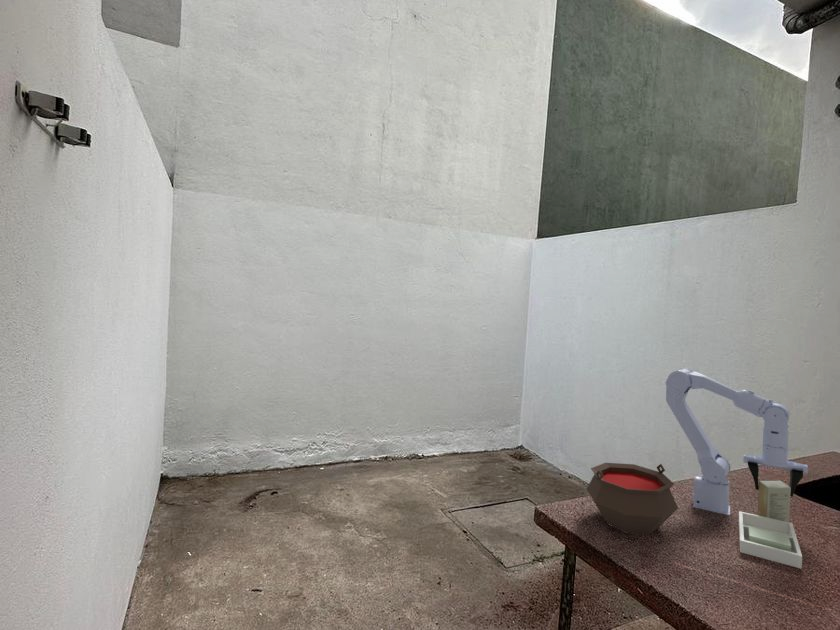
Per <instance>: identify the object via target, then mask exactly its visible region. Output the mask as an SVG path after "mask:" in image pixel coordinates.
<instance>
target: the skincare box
mask: <svg viewBox="0 0 840 630" xmlns="http://www.w3.org/2000/svg"><path fill="white" fill-rule="evenodd" d="M758 485H759V490H758V494H757V495H758V496H757V510H756V511H757V512H756V513H757V514H756V515H758V516H763V517H767V518H771V519H776V520H780V521H784V522H789V523H790V509H791V496H790V494H791V488H790V487H789V486H790V485H788V484H786V483H785V482H784V481H782V480H779V479H777V480H773V479H772V480H758Z"/></svg>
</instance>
